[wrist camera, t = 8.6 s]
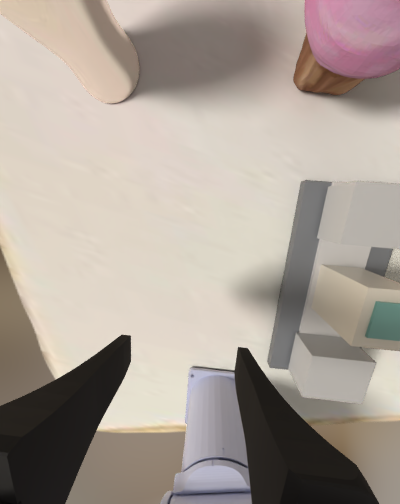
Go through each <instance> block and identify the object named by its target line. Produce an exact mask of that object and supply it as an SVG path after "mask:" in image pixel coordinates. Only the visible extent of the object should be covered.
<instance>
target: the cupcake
mask: <svg viewBox="0 0 400 504" xmlns="http://www.w3.org/2000/svg"><path fill="white" fill-rule="evenodd" d="M305 26H306V36H305V39H304V43H303V47H302V50H301V53H300V56H299V58H298V61H297V64H296V70H295V74H294V83H295V85H296V86H297V88H298V89H299V90H305V91H312V92H316V93H318V92H324V93H329V94H333V95H341V94H344V93H346V92H348V91H349V90H351V89H352V88H354V87H355V86H356V85H358V84H359V83H360V82H362V81H363V80H365V79H368V78H378V77H381V76H385V75H387V74H390V73H392V72H394V71H396V70H398V69H400V0H305Z"/></svg>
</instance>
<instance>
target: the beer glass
mask: <svg viewBox="0 0 400 504" xmlns="http://www.w3.org/2000/svg"><path fill="white" fill-rule="evenodd" d="M0 14H1V15H2V16H3V17H5V18H6V19H7V20H9V21H10V22H11V23H13V24H14V25H16V26H17V27H18V28H20V29H21V30H22V31H24V32H25V33H26V34H28V35H29V36H30V37H32V38H33V39H35V40H36V41H37V42H39V43H40V44H42V45H43V46H44V47H46V48H47V49H48V50H50V51H51V52H52V53H54V54H55V55H56V56H58V57H59V58H60V59H61V60H62V61H63V62H65V63H66V64H67V66H68V67H69V68H70V69H71V70H72V71H73V73H74V74H75V76H76V77H77V78H78V80H79V81H80V83H81V84H82V86H83V87H84V88H85V89H86V91H87V92H88V93H89V94H90V95H91V96H93V97H94V98H95V99H97V100H99V101H101V102H104V103H109V104H113V103H118V102H121V101H123V100H125V99H126V98H127V97H129V96H130V94H131V93H132V92H133V90H134V89H135V87H136V85H137V82H138V78H139V60H138V55H137V52H136V50H135V47H134V45H133V44H132V42H131V40H130V39H129V37H128V36H127V34H126V33H125V32H124V30H123V29H122V28H121V26H120V25H119V23H118V22H117V20H116V19H115V17H114V15H113V13H112V11H111V9H110V6H109V4H108V2H107V0H0Z"/></svg>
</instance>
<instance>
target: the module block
mask: <svg viewBox="0 0 400 504" xmlns="http://www.w3.org/2000/svg"><path fill="white" fill-rule="evenodd" d="M311 308H312V309H313V310H314V311H315V312H316V313H317V314H318V315H319V316H320V317H321V318H322V319H323V320H325V321H326V322H327V323H328V324H329V325H330V326H331V327H332V328H333V329H334V330H335V331H336V332H337V333H338V334H339V335H340V336H341V337H342V338H343V339H344V340H345V341H346V342H347V343H348V344H349V345H350V346H354V347H364V348H374V349H384V350H394V351H400V283H399V282H396V281H394V280H391V279H388V278H386V277H383V276H380V275H378V274H375V273H373V272H370V271H367V270H365V269H362V268H357V267H345V266H333V265H322V264H321V267H320V271H319V275H318V280H317V284H316V289H315V293H314V297H313V302H312V306H311Z"/></svg>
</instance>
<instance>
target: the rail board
mask: <svg viewBox="0 0 400 504" xmlns="http://www.w3.org/2000/svg"><path fill="white" fill-rule="evenodd" d="M393 249H400V184H393V183H379V182H365V181H353V182H324V181H310V180H305V181H302V182H301V185H300V190H299V196H298V201H297V206H296V212H295V217H294V222H293V228H292V233H291V238H290V244H289V249H288V254H287V260H286V265H285V270H284V276H283V281H282V286H281V291H280V297H279V302H278V307H277V313H276V318H275V323H274V329H273V334H272V339H271V345H270V350H269V355H268V361H267V362H268V364H269V367H270V368H278V369H287V370H289V371H290V374H291V376H292V378H293V380H294V382H295V384H296V386H297V388H298V390H299V392H300V394H301V396H302V397H305V398H314V399H322V400H331V401H340V402H348V403H357V404H362V403H363V400H364V397H365V395H366V392H367V389H368V386H369V383H370V380H371V377H372V374H373V371H374V368H375V365H376V362H375V361H374V360H373V359H372V358H371V357H370V356H369V355H367V354H366V353H365V352H364V351H363V350H362V349H361V348H362V347H354V346H350V345H349V344H348V343H347V342H346V341H345V340H344V339H343V338H342V337H341V336H340V335H339V334H338V333H337V332H336V331H335V330H334V329H333V328H332V327H331V326H330V325H329V324H328V323H327V322H326V321H325V320H323V319H322V318H321V317H320V316H319V315H318V314H317V313H316V312H315V311H314V310H313V309H312V308H311V306H312V302H313V297H314V293H315V289H316V284H317V280H318V275H319V271H320V267H321V264H322V265H333V266H345V267H357V268H362V269H365V270H367V271H370V272H373V273H375V274H378V275H380V276H383V277H384V275H385V272H386V269H387V266H388V263H389V260H390V257H391V253H392V250H393Z"/></svg>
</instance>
